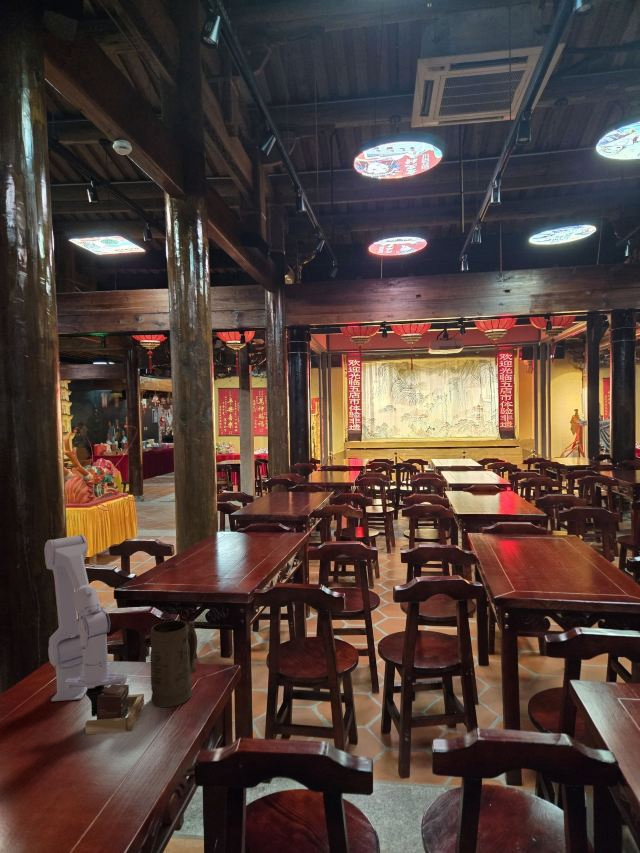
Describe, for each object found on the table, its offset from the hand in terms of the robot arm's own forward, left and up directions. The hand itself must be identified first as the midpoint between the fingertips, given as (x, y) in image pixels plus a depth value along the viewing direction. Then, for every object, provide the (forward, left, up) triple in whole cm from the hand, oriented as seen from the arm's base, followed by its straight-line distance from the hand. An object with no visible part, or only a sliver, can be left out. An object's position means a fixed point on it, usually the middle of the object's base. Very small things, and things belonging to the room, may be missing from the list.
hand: (97, 714), depth 133 cm
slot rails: (0, +4, -2) cm, 5 cm away
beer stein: (-11, +18, -2) cm, 21 cm away
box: (0, +4, -2) cm, 4 cm away
